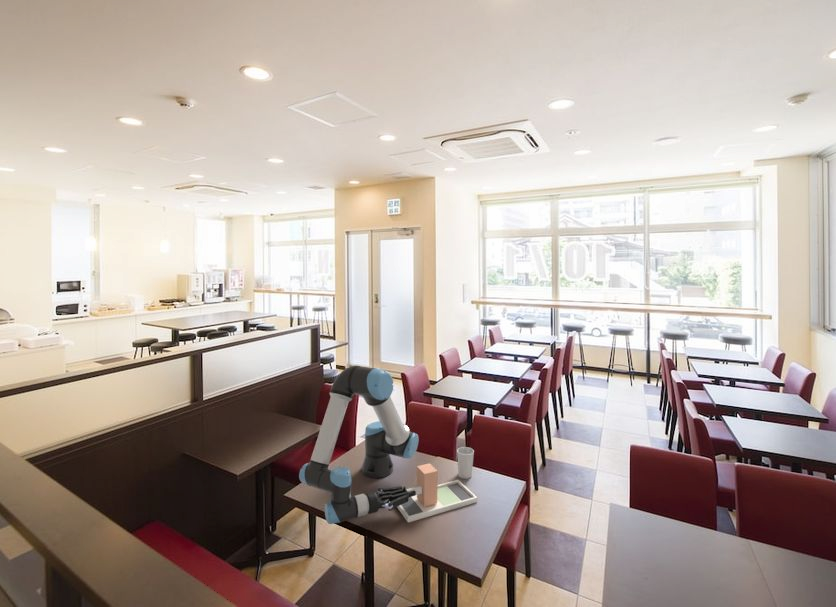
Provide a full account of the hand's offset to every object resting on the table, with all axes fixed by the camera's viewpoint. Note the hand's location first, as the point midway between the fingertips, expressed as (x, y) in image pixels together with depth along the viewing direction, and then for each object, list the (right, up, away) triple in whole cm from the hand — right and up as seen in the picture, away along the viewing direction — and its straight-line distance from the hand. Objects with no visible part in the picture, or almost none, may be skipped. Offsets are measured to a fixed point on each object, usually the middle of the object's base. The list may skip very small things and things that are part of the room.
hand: (421, 489), depth 166 cm
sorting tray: (+6, -7, +5) cm, 11 cm away
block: (+2, -6, +3) cm, 7 cm away
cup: (+21, -6, +27) cm, 34 cm away
